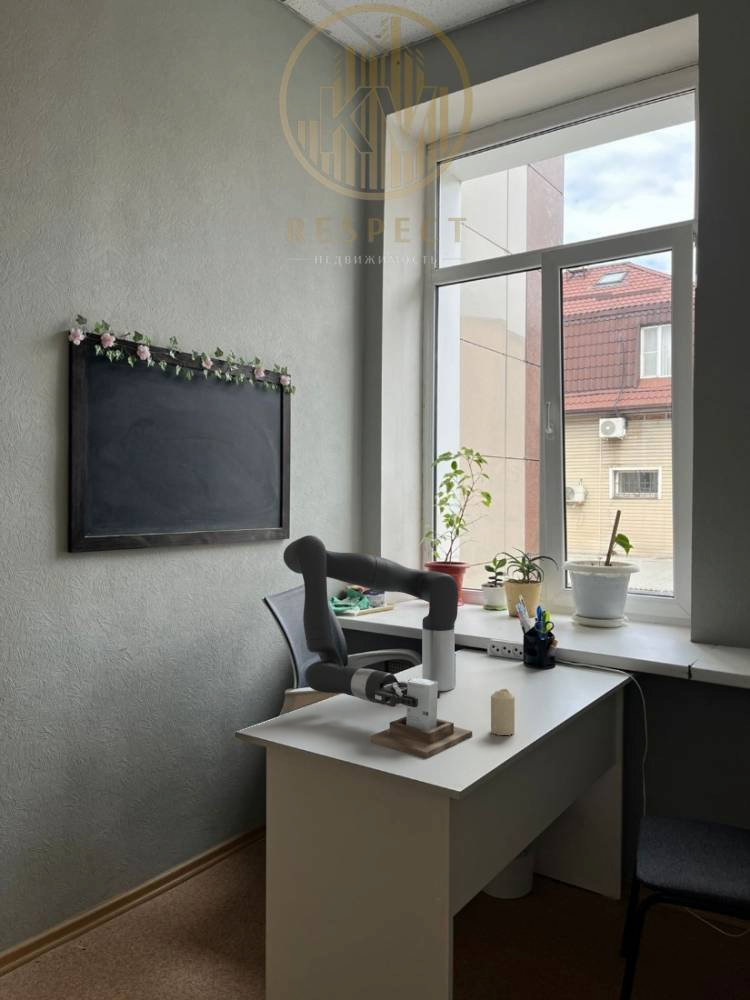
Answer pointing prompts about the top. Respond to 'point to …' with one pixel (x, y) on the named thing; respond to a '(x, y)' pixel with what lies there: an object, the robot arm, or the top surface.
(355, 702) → the top surface
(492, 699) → the candle
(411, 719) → the skincare box
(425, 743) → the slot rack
